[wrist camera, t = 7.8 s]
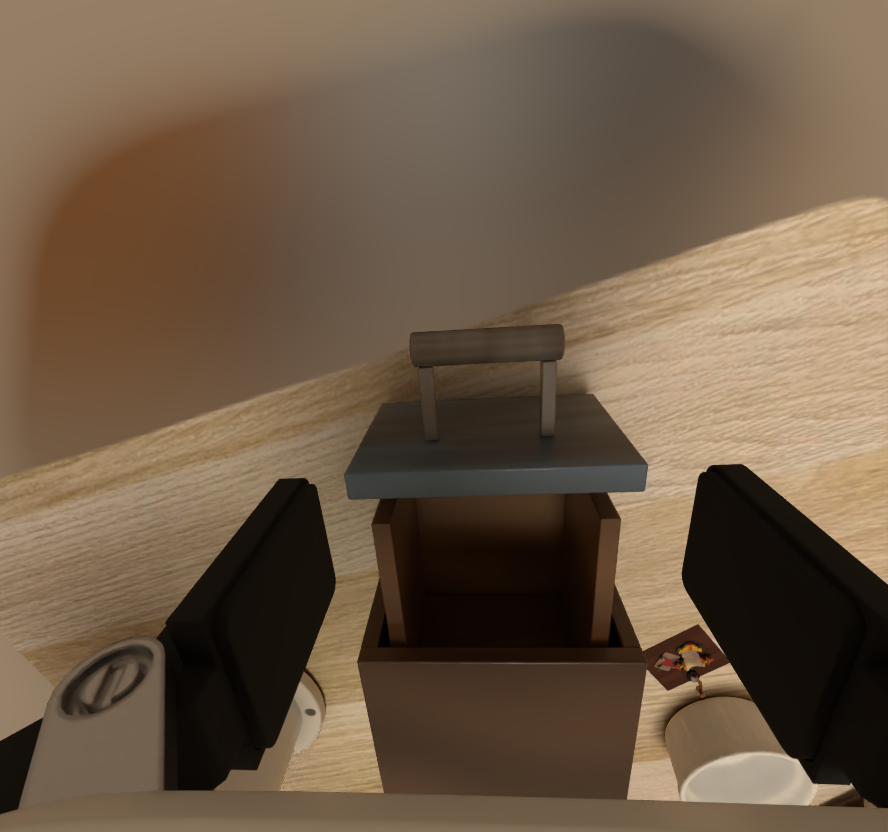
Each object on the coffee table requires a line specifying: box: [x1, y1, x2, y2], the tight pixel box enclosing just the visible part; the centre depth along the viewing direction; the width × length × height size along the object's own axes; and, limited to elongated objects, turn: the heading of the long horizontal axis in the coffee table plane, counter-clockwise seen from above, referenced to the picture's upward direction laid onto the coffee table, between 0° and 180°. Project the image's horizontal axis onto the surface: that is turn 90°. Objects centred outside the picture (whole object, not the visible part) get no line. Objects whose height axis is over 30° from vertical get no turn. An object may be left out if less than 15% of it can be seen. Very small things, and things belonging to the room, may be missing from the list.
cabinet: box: [357, 578, 647, 800], centre depth 26 cm, size 15×13×10 cm
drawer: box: [344, 324, 648, 648], centre depth 21 cm, size 18×11×8 cm, turn 4°
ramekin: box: [665, 697, 818, 805], centre depth 32 cm, size 9×9×4 cm
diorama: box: [643, 625, 730, 698], centre depth 30 cm, size 3×4×2 cm
